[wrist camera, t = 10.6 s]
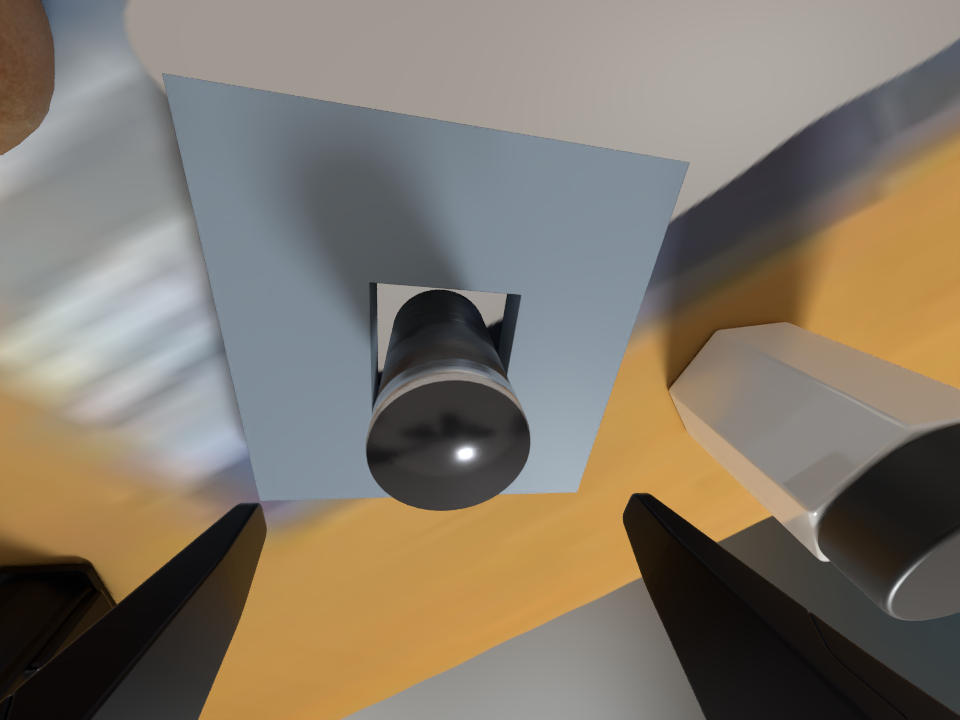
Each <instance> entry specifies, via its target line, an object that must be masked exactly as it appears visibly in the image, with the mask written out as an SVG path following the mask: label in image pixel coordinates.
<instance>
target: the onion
mask: <svg viewBox="0 0 960 720" xmlns="http://www.w3.org/2000/svg"><path fill="white" fill-rule="evenodd" d="M54 76H55V66H54V44H53V37H52V33H51V29H50V25H49V22H48V19H47V16H46V13H45V10H44V7H43V5H42V2H41V0H0V155H3V154H4V153H6V152H8V151H9V150H11V149H12V148H14V147H15V146H17V145H19V144H20V143H21V142H22V141H23V140H25V139H26V138H27V137H28V136H29V135H30V134H31V133H32V132H34V131H35V130H36V129H37V128H38V127H39V126H40V124H41V123H42V121H43V119H44V118H45V116H46V114H47V113H48V111H49V106H50V102H51V98H52V95H53V91H54Z"/></svg>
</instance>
